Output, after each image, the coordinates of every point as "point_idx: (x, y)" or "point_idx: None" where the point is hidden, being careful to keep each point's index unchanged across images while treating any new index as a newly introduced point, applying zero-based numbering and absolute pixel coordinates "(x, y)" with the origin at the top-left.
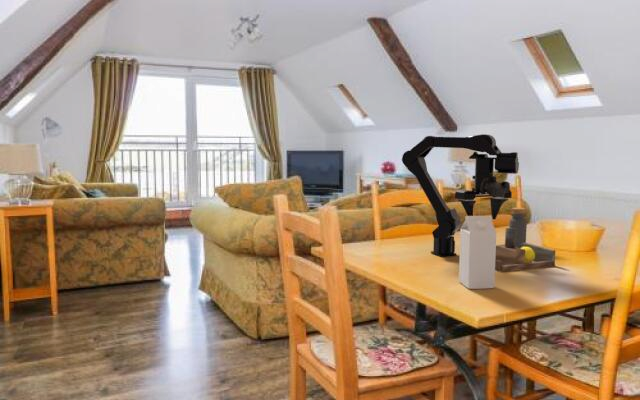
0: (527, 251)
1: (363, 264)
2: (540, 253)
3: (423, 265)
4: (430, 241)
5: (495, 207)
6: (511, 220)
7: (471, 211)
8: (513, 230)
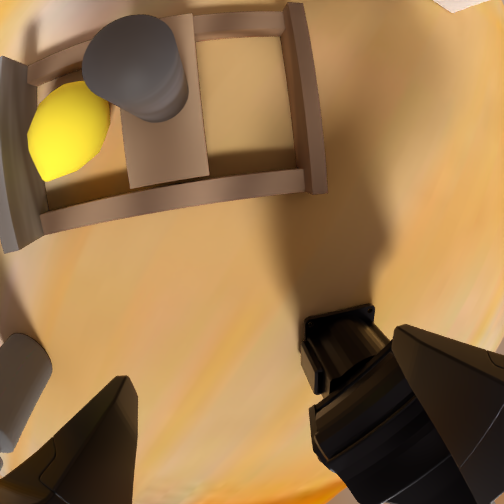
0: (73, 88)
1: None
2: (15, 119)
3: (468, 200)
4: (262, 472)
5: (92, 482)
6: (5, 439)
7: (480, 353)
8: (133, 19)
